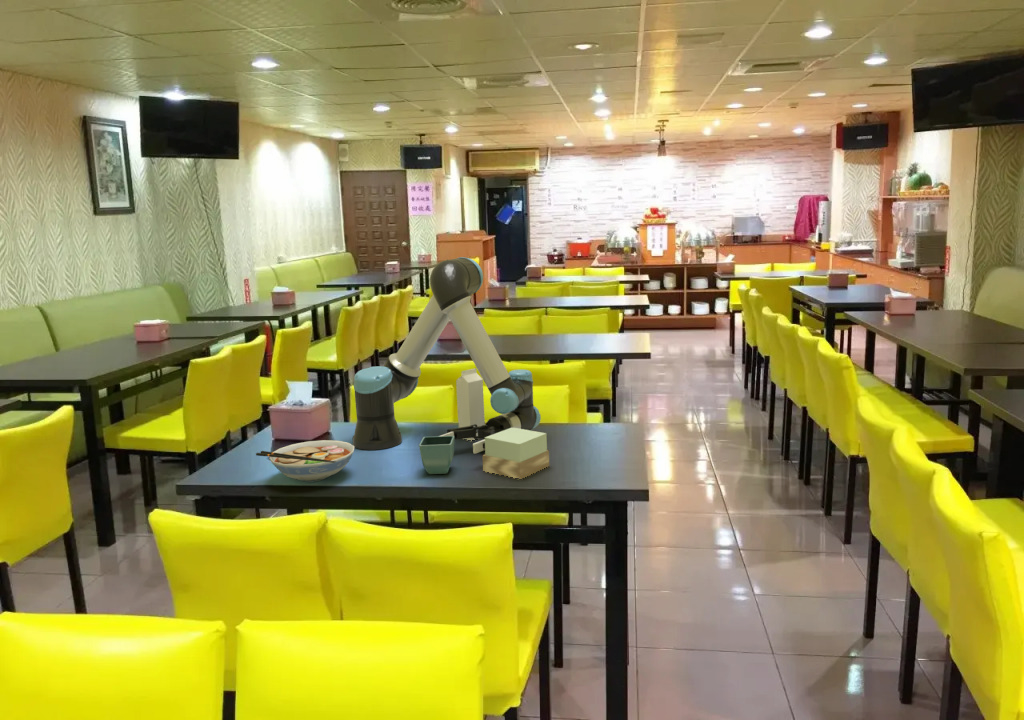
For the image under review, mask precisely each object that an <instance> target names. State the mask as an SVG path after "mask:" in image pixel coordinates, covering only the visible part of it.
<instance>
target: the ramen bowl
mask: <svg viewBox="0 0 1024 720" xmlns="http://www.w3.org/2000/svg"><path fill="white" fill-rule="evenodd" d="M354 451H355V446H353V443H352V444H351V443H350V442H346V441H342V440H331V439H329V440H328V439H327V440H326V439H324V440H323V439H322V440H309V441H304V442H303V441H302V442H298V443H293V444H289V445H286V446H284V447H280V448H278V449H276V450H274V451H266V450H260V452H256V453H255V456H256V457H257V456H259V457H268V459H269V461H270V462H271V464H272V465H273V466H274V467H275V469H277V470H278V472H280V473H281V474H283V475H284V476H285V477H288V478H291V479H294V480H299V481H302V482H306V481H307V482H309V483H310V482H312V481H314V482H319V481H323V480H326V479H327V478H329V477H330V476H333V475H335V474H337V473H338V472H340V471H341V470H343V469H344V468H345V467H346V466H347V465H348V463H349V462H350V460H351V458H352V457H353V454H354ZM312 483H313V482H312Z"/></svg>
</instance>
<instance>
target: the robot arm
mask: <svg viewBox="0 0 1024 720" xmlns="http://www.w3.org/2000/svg"><path fill="white" fill-rule="evenodd" d="M483 273H484V272H483V270H482V267H481V266H480V265H479V263H477V261H475V260H474V259H472V258H468V257H463V256H462V257H461V256H460V257H459V256H458V257H455V258H452V259H445V260H442V261H439V262H438V263H437V264H436V265H435V266H434V267H433V269H432V271H431V272H430V276H429V285H430V289H431V293H432V296H431V297H430V298H429V301H428V302H427V304H426V305H425V307H424V309H423V310H422V312H421V314H420V315H419V317H418V318H417V320H416V321H415V323H414V325H413V327H411V330H410V331H409V333H408V335H407V336H406V338H405V339H404V341H403V342H402V345H401V346H400V348H399V349H398V350H397V352H395V353H392V354H389V356H388V358H387V360H386V361H385V363H384V364H383V366H381V365H379V366H376V365H375V366H370V367H366V368H363V369H361V370H358V371H357V372H356V373H355V374H354V376H353V391H354V399H355V400H354V401H355V402H354V403H355V412H356V414H355V415H356V424H355V429H354V433H353V434H354V435H353V436H352V445H353V446H355V447H354V449H355V448H356V449H359V450H366V451H371V450H372V451H374V450H384V449H389V448H394V447H396V446H398V445H400V444H401V443H402V442H403V441H402V440H403V439H402V433H401V432H402V431H400V428H399V425H398V423H397V420H396V417H395V405H394V404H395V403H396V402H399V401H400V400H403V399H406V398H407V397H409V396H411V394H413V392H414V391H415V390H416V389H417V386H418V383H419V377H420V376H421V373H422V371H421V368H420V367H421V366H422V364H423V362H424V361H425V360H426V359H427V356H428V355H429V353H430V352H431V350H432V349H433V347H434V345H435V344H436V342H437V340H438V339H439V338H440V336H441V334H442V332H443V331H444V329H445V328H446V326H448V325H447V324H449V322H451V323H452V325H453V327H454V329H455V331H456V333H457V334H458V336H459V338H460V340H461V342H462V344H463V345H464V347H465V349H466V351H467V353H468V354H469V356H470V358H471V360H472V362H473V364H474V365H475V367H476V370H477V371H478V373H479V374H480V375H479V376H480V377H481V378H482V379H483V383H484V384H485V386H486V388H487V389H488V391H489V393H490V398H489V400H490V406H491V408H492V409H493V410H494V411H495V412H496V413H498V414H499V415H497V416H496V415H495V416H493V417H491V418H489V419H488V420H487V421H486V423H485V425H482V426H479V427H477V425H476V424H474V425H471V426H466V427H460V428H459V427H455V428H448V429H446V433H444V434H441V435H440V436H454V440H464V439H465V438H474V439H478V441H477V442H474V443H472V452H473V454H478V453H481V452H484V451H485V437H487V436H490V435H493V434H496V433H498V432H501V431H504V430H506V429H509V428H512V427H513V428H519V429H524V430H530V431H532V430H533V429H535V428H537V427H538V426H539V424H540V423H541V420H542V418H541V413H540V411H539V409H538V408H537V406H534V405H535V404H534V387H533V386H534V385H533V384H534V380H533V373H532V372H531V371H530V370H528V369H513V370H511V371H509V372H508V369H507V367H506V366H505V364H504V362H503V360H502V359H501V357H500V354H499V353H498V351H497V349H496V347H495V345H494V344H493V341H492V340H491V338H490V336H489V335H488V333H487V331H486V329H485V327H484V325H483V324H482V322H481V320H480V318H479V316H478V314H477V312H476V311H475V308H474V307H473V305H472V303H471V299H472V295H474V294H475V293H477V292H478V291H479V289H481V287H482V285H483V283H484V274H483ZM477 432H478V436H476V433H477ZM480 439H482V440H480Z"/></svg>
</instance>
